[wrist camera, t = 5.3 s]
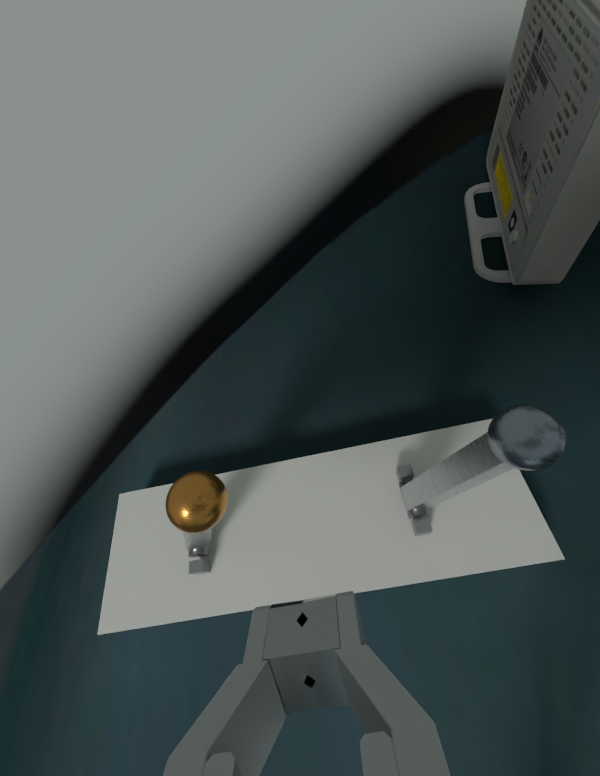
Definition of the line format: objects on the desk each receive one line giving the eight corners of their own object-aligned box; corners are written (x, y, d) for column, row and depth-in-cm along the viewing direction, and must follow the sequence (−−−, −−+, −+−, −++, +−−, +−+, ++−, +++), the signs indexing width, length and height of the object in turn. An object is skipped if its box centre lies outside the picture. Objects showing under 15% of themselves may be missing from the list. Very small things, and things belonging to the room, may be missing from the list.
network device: (573, 304, 33) (775, 17, 17) (478, 305, 36) (572, 53, 19) (528, 168, 46) (618, -74, 29) (460, 176, 48) (507, -46, 31)
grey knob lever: (384, 481, 24) (508, 391, 14) (419, 479, 25) (558, 392, 15) (396, 525, 22) (544, 456, 13) (433, 521, 23) (599, 453, 14)
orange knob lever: (179, 521, 26) (165, 463, 16) (219, 517, 26) (229, 460, 17) (176, 564, 24) (159, 529, 14) (219, 559, 25) (230, 523, 15)
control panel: (482, 433, 28) (498, 410, 25) (544, 562, 23) (576, 557, 19) (139, 501, 31) (108, 490, 28) (124, 630, 26) (82, 637, 22)
